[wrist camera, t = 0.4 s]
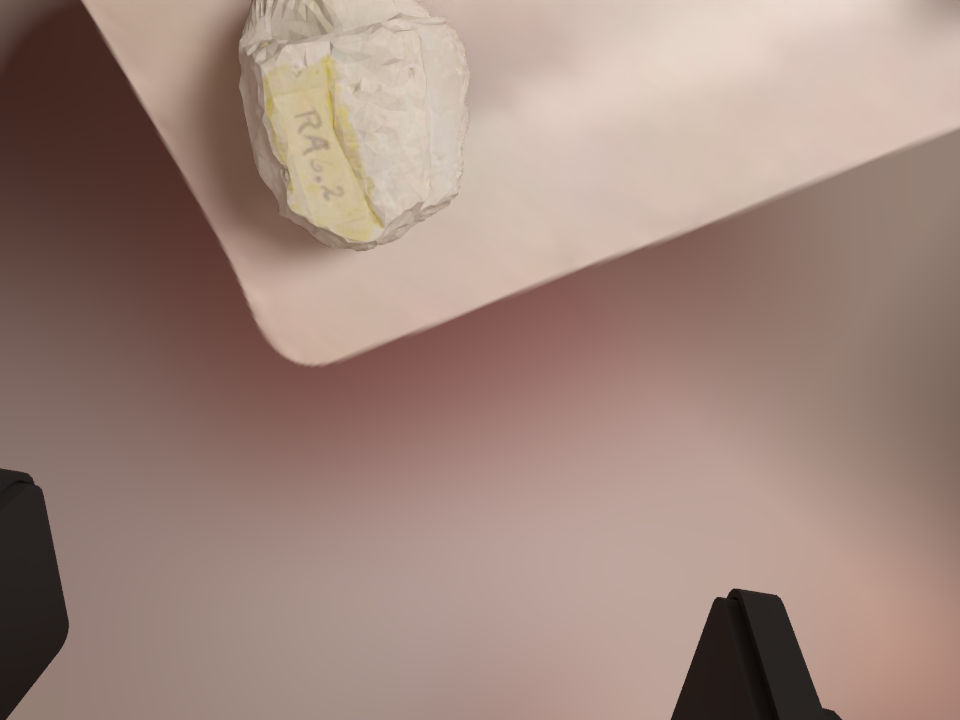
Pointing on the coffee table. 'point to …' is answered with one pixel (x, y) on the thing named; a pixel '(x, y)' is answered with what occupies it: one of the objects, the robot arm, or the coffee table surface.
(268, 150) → the fossil replica
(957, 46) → the coffee table surface
